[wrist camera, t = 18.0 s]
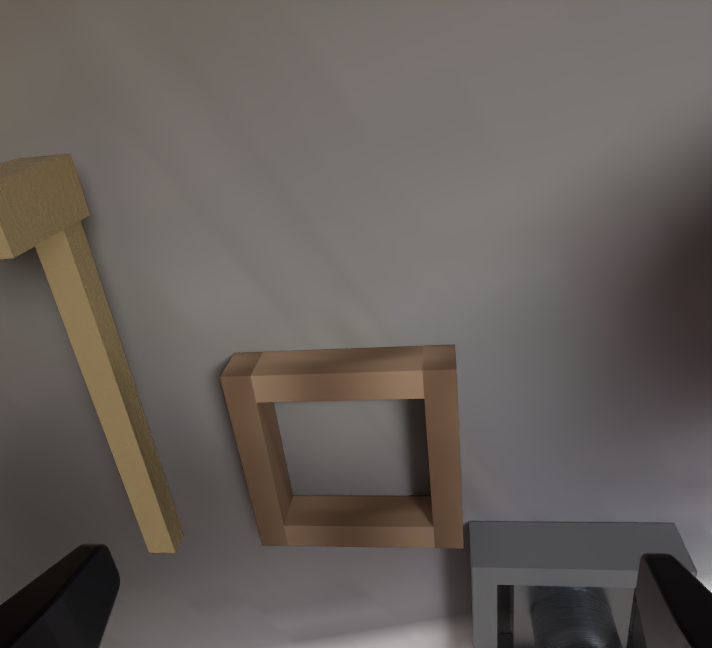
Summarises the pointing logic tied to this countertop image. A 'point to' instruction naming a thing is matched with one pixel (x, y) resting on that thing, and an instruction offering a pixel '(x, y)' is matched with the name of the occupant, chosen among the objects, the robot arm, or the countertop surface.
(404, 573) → the countertop surface
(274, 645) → the countertop surface
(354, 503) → the walnut socket
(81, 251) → the bar
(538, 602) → the grey metal knob
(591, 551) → the frame
